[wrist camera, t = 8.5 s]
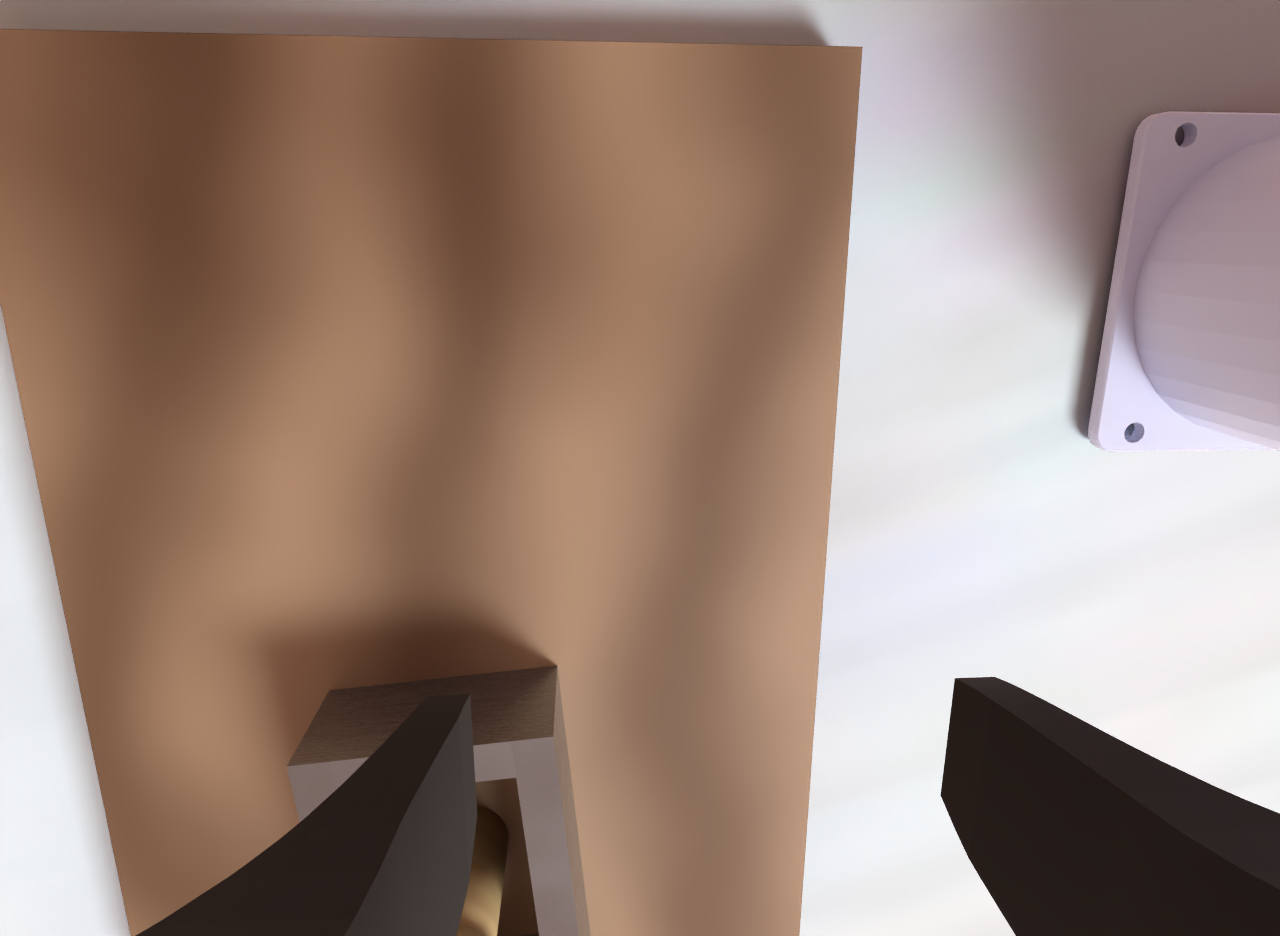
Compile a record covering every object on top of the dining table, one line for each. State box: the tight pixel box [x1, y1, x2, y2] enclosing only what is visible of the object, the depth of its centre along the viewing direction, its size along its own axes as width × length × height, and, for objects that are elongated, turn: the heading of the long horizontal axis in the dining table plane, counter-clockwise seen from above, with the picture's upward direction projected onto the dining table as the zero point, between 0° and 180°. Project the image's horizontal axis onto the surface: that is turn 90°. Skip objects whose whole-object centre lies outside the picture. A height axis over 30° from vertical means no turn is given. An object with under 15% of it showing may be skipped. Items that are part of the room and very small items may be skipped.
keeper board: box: [0, 29, 862, 936], centre depth 18 cm, size 18×24×6 cm
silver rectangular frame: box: [287, 666, 591, 936], centre depth 20 cm, size 6×9×3 cm, turn 5°
